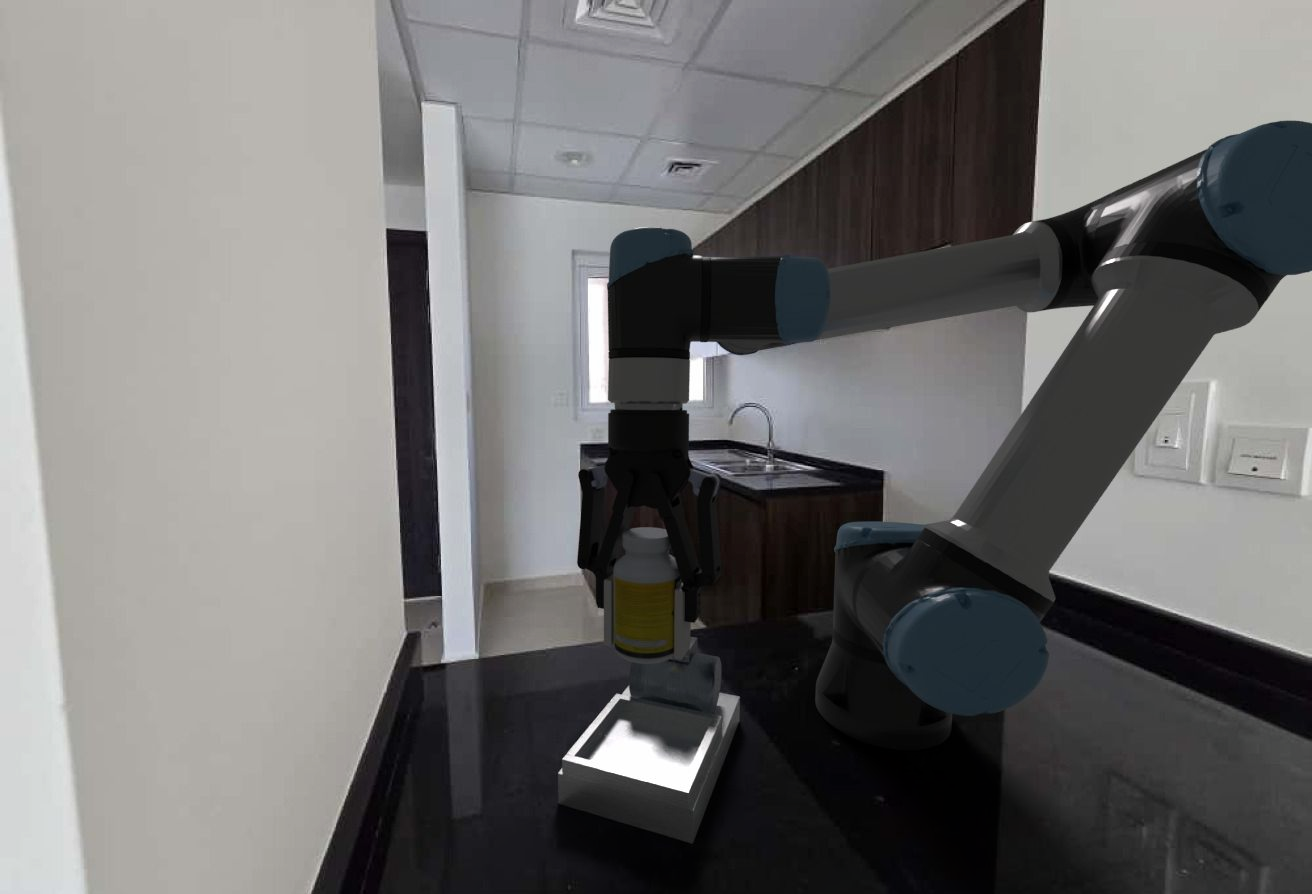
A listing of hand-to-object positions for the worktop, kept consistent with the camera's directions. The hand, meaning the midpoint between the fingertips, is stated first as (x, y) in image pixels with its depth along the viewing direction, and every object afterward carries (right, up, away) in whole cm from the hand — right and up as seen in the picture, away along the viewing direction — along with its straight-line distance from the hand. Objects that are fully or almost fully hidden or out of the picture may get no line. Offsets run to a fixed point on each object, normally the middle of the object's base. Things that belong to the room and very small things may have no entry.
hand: (647, 645), depth 54 cm
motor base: (+1, -13, +5) cm, 14 cm away
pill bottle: (0, -1, 0) cm, 1 cm away
